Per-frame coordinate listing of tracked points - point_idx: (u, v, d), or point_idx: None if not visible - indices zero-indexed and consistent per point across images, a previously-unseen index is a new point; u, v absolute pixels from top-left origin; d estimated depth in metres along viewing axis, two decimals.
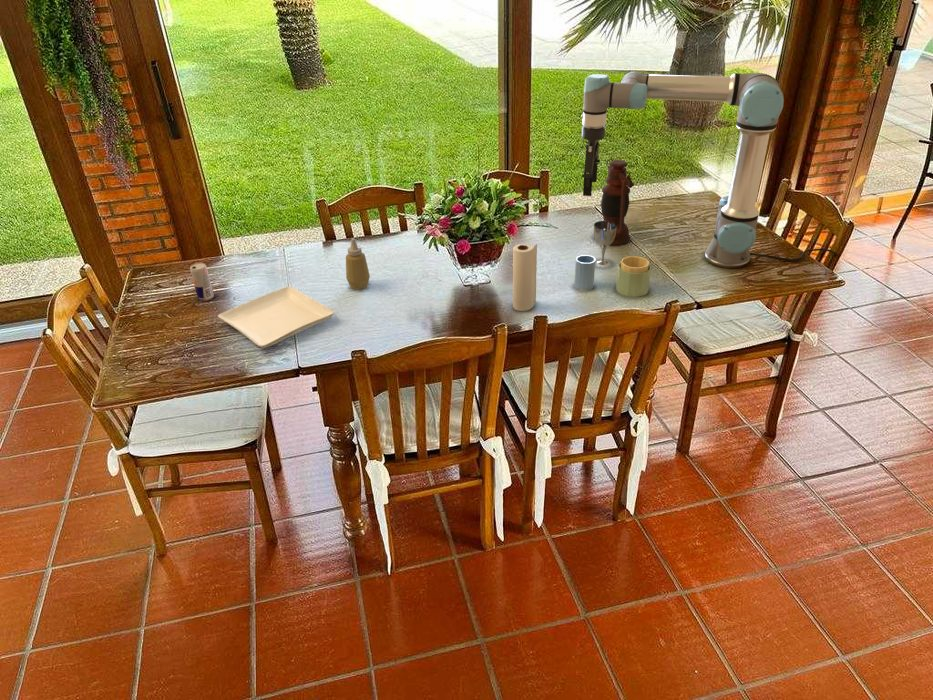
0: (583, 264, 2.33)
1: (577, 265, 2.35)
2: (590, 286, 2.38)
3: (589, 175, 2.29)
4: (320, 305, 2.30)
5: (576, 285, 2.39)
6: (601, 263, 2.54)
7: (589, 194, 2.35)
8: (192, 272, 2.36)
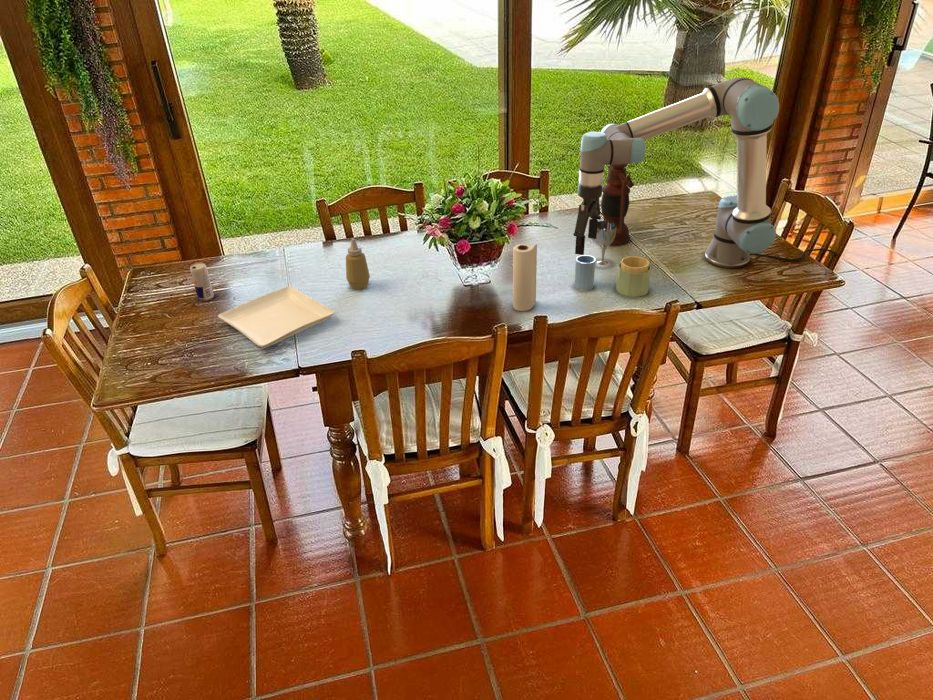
0: (583, 264, 2.33)
1: (577, 265, 2.35)
2: (590, 286, 2.38)
3: (579, 235, 2.21)
4: (320, 305, 2.30)
5: (576, 285, 2.39)
6: (601, 263, 2.54)
7: (581, 253, 2.27)
8: (192, 272, 2.36)
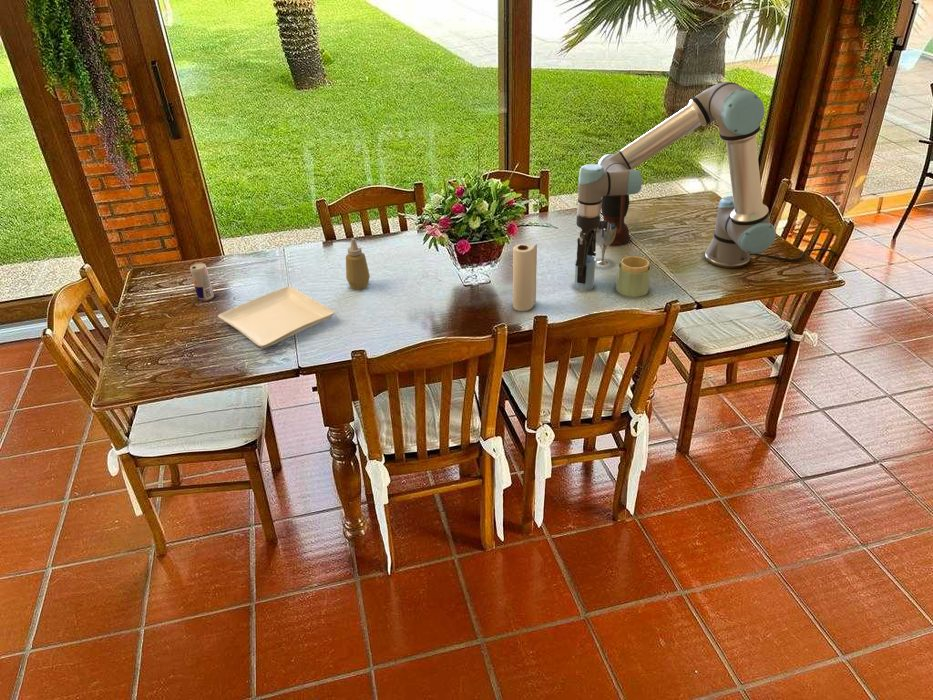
0: None
1: None
2: (590, 286, 2.38)
3: (581, 265, 2.30)
4: (320, 305, 2.30)
5: (576, 285, 2.39)
6: (601, 263, 2.54)
7: (583, 282, 2.36)
8: (192, 272, 2.36)
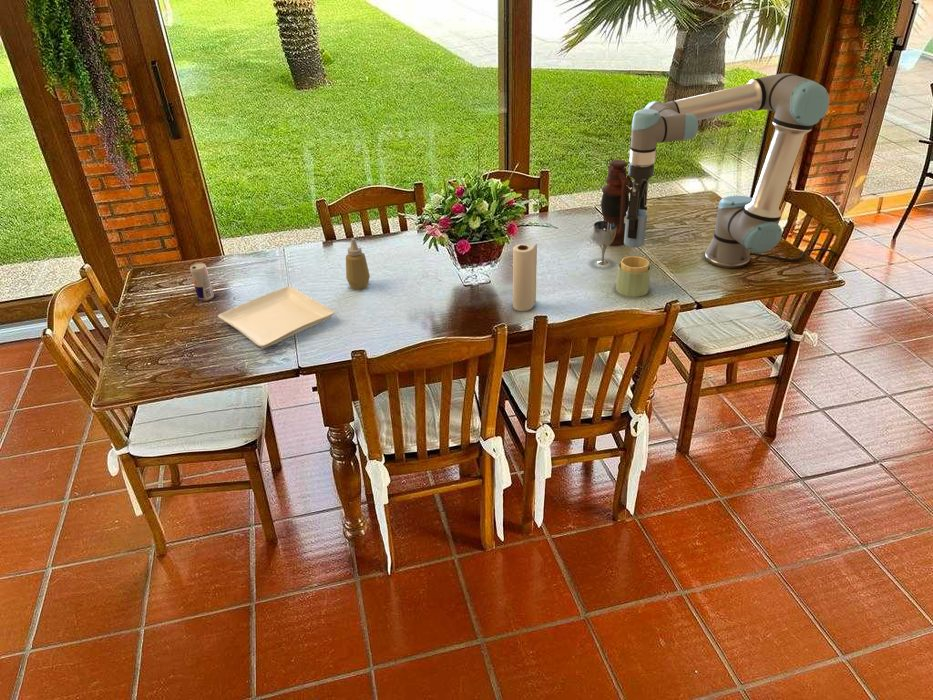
0: None
1: (628, 219, 2.23)
2: (641, 242, 2.26)
3: (633, 218, 2.18)
4: (320, 305, 2.30)
5: (626, 241, 2.27)
6: (601, 263, 2.54)
7: (634, 237, 2.24)
8: (192, 272, 2.36)
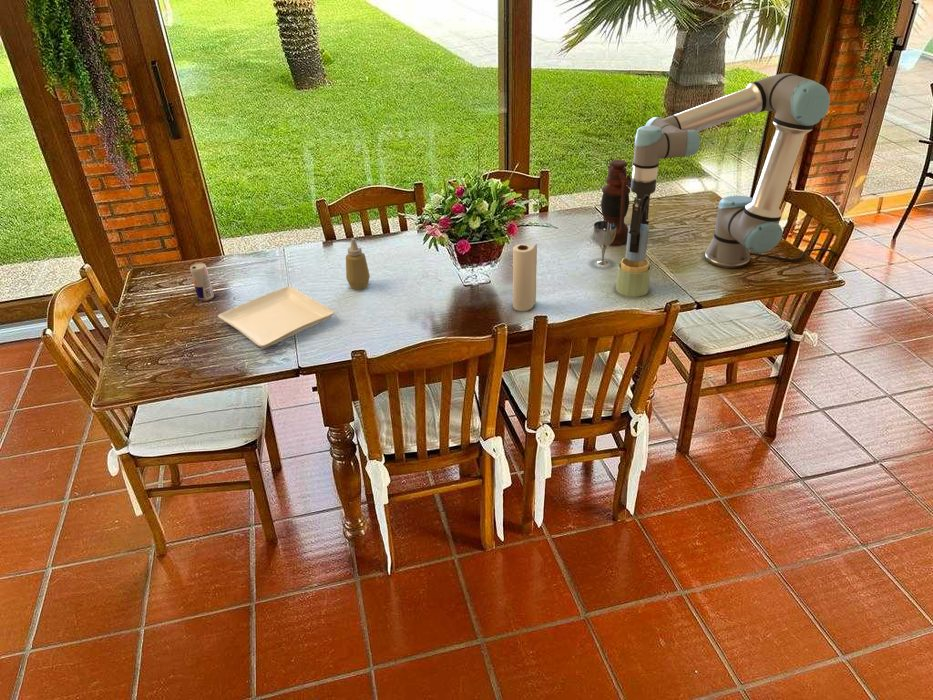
0: None
1: None
2: (643, 256, 2.28)
3: (635, 233, 2.20)
4: (320, 305, 2.30)
5: (628, 255, 2.29)
6: (601, 263, 2.54)
7: (636, 251, 2.26)
8: (192, 272, 2.36)
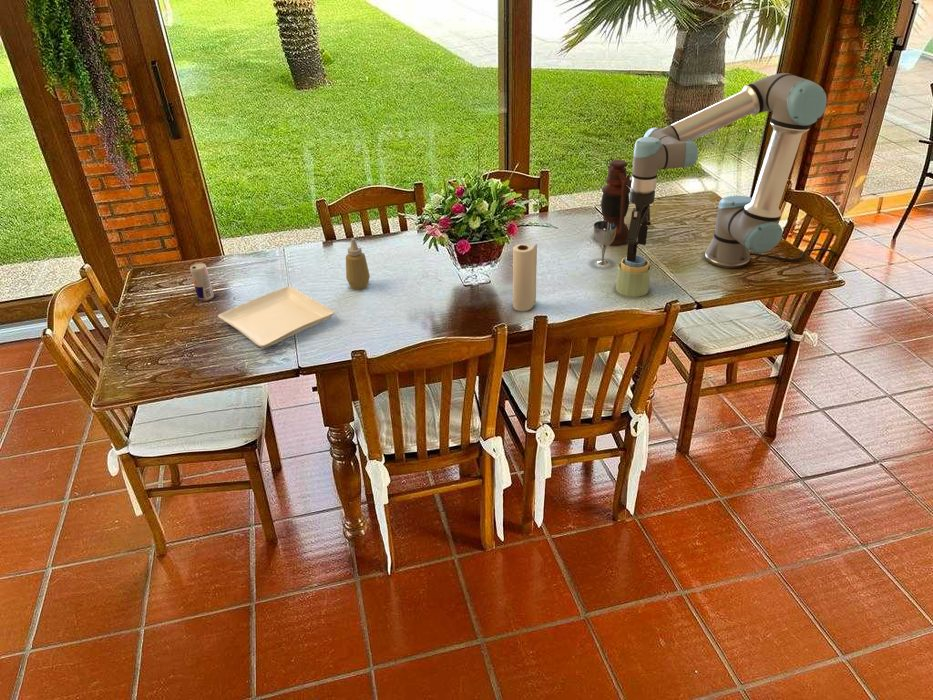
0: (633, 264, 2.29)
1: (627, 265, 2.31)
2: None
3: (632, 241, 2.18)
4: (320, 305, 2.30)
5: None
6: (601, 263, 2.54)
7: (633, 259, 2.24)
8: (192, 272, 2.36)
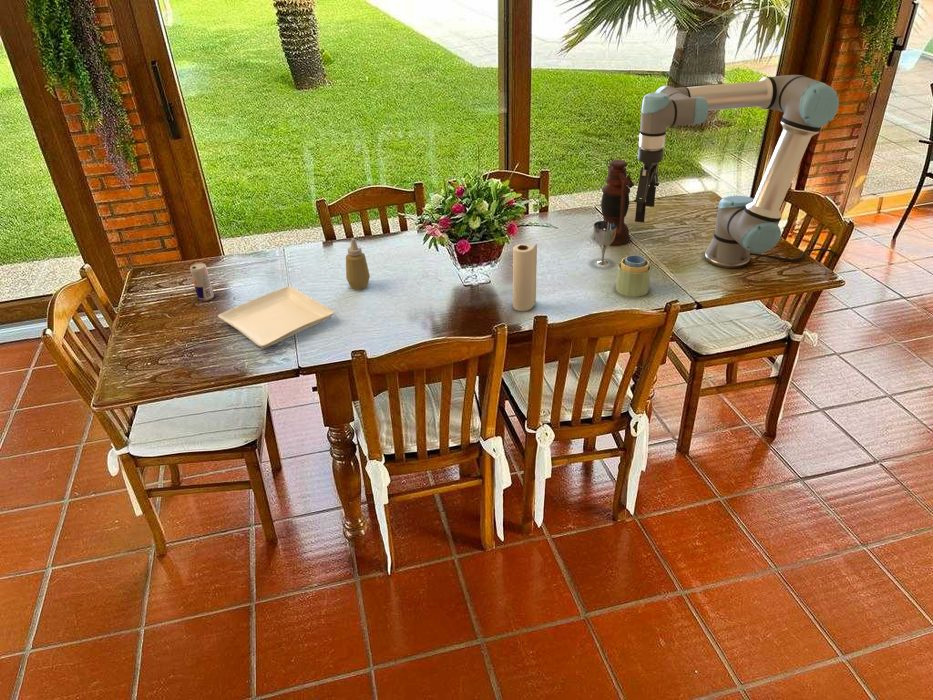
0: (633, 264, 2.29)
1: (627, 265, 2.31)
2: None
3: (641, 201, 2.13)
4: (320, 305, 2.30)
5: None
6: (601, 263, 2.54)
7: (641, 220, 2.19)
8: (192, 272, 2.36)
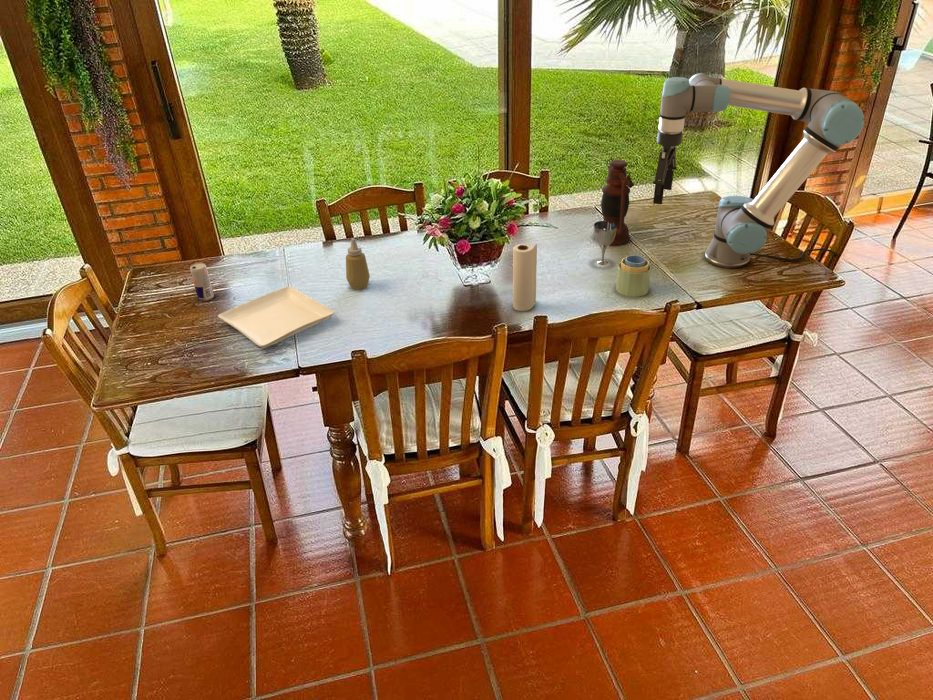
0: (633, 264, 2.29)
1: (627, 265, 2.31)
2: None
3: (660, 182, 2.19)
4: (320, 305, 2.30)
5: None
6: (601, 263, 2.54)
7: (659, 202, 2.25)
8: (192, 272, 2.36)
